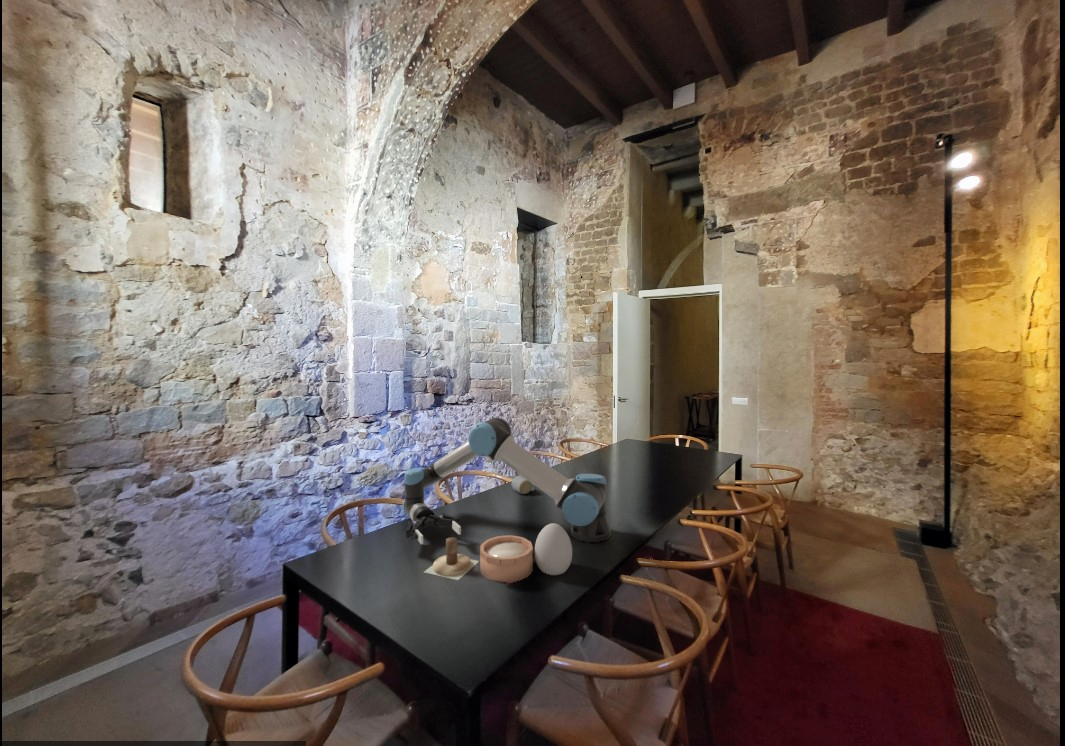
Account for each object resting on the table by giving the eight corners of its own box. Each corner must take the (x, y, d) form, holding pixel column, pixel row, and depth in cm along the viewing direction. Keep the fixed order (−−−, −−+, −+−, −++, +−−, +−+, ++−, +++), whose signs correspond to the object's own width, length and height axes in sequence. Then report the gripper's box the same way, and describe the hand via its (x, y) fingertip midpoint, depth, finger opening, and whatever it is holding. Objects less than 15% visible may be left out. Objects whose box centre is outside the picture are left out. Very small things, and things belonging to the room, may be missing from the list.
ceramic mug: (519, 496, 214) (519, 480, 213) (511, 491, 220) (511, 476, 220) (538, 492, 219) (538, 477, 219) (528, 488, 226) (528, 473, 226)
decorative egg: (567, 558, 151) (566, 515, 150) (576, 576, 139) (576, 530, 138) (531, 561, 149) (531, 518, 148) (538, 580, 137) (538, 533, 136)
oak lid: (477, 561, 148) (476, 535, 148) (457, 579, 137) (456, 550, 137) (447, 555, 153) (446, 529, 152) (425, 571, 142) (424, 544, 142)
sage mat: (479, 562, 149) (479, 561, 149) (458, 581, 137) (458, 580, 137) (446, 555, 154) (446, 554, 154) (423, 573, 142) (423, 572, 142)
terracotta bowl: (540, 562, 148) (540, 540, 148) (519, 588, 133) (518, 563, 132) (495, 553, 155) (495, 532, 155) (470, 576, 140) (469, 553, 139)
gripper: (453, 518, 178) (474, 537, 160) (389, 532, 165) (405, 555, 147) (452, 499, 177) (474, 517, 159) (389, 512, 164) (404, 533, 146)
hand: (441, 535), depth 153 cm, fingers open, 13 cm apart
